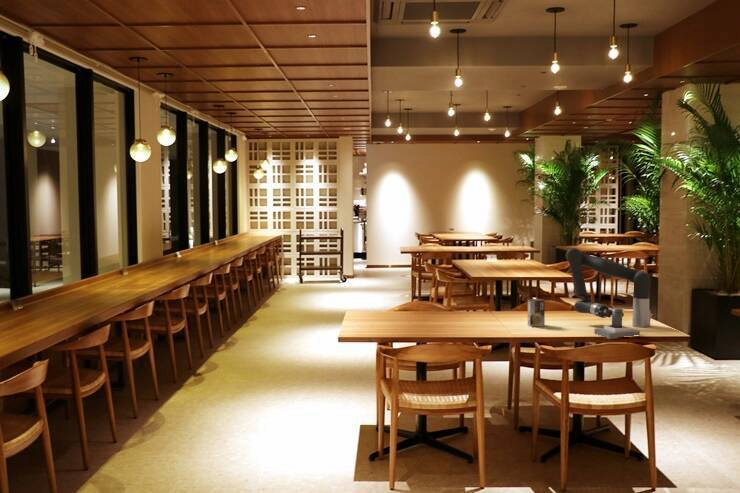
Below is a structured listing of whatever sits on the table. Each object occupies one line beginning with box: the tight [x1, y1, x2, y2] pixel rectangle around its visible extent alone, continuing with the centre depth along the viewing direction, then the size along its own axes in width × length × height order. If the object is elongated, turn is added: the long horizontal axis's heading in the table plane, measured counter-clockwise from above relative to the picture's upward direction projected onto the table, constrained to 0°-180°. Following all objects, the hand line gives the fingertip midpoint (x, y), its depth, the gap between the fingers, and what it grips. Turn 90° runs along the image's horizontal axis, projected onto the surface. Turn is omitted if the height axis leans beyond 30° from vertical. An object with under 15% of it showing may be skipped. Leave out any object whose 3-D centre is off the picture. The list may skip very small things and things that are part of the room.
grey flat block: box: [593, 324, 641, 340], centre depth 396 cm, size 20×14×5 cm
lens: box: [611, 307, 623, 328], centre depth 395 cm, size 6×6×12 cm
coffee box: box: [527, 298, 546, 327], centre depth 423 cm, size 9×6×16 cm
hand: (616, 315), depth 395 cm, fingers open, 8 cm apart
